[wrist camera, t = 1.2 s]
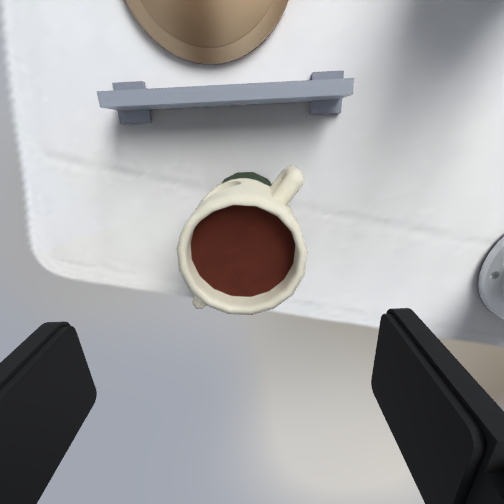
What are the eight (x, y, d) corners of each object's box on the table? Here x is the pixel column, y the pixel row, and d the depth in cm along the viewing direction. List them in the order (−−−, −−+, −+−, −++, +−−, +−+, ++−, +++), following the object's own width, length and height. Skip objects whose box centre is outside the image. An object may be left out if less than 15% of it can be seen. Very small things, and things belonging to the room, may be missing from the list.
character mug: (250, 130, 25) (248, 129, 13) (312, 180, 27) (362, 220, 15) (184, 227, 28) (134, 297, 16) (243, 266, 30) (237, 356, 18)
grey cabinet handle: (341, 72, 23) (358, 60, 20) (338, 113, 24) (354, 109, 21) (115, 83, 24) (90, 75, 20) (123, 124, 25) (100, 122, 21)
